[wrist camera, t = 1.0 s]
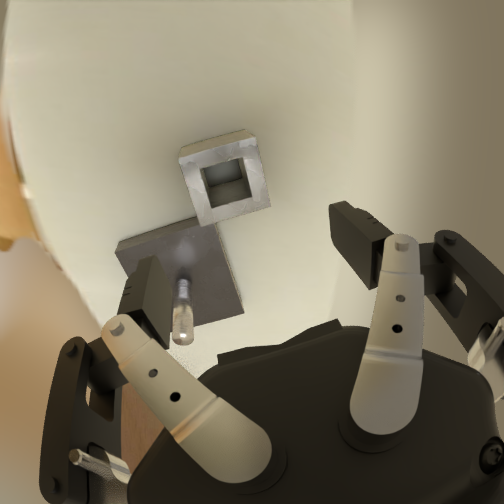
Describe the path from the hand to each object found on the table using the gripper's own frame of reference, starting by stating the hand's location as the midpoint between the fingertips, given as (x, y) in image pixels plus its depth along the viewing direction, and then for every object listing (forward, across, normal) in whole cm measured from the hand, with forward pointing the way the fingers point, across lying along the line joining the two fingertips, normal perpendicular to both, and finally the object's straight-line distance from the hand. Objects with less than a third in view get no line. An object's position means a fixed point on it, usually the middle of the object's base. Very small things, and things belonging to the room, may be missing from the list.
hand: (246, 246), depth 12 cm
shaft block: (+14, +7, +10) cm, 18 cm away
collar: (+14, 0, 0) cm, 14 cm away
